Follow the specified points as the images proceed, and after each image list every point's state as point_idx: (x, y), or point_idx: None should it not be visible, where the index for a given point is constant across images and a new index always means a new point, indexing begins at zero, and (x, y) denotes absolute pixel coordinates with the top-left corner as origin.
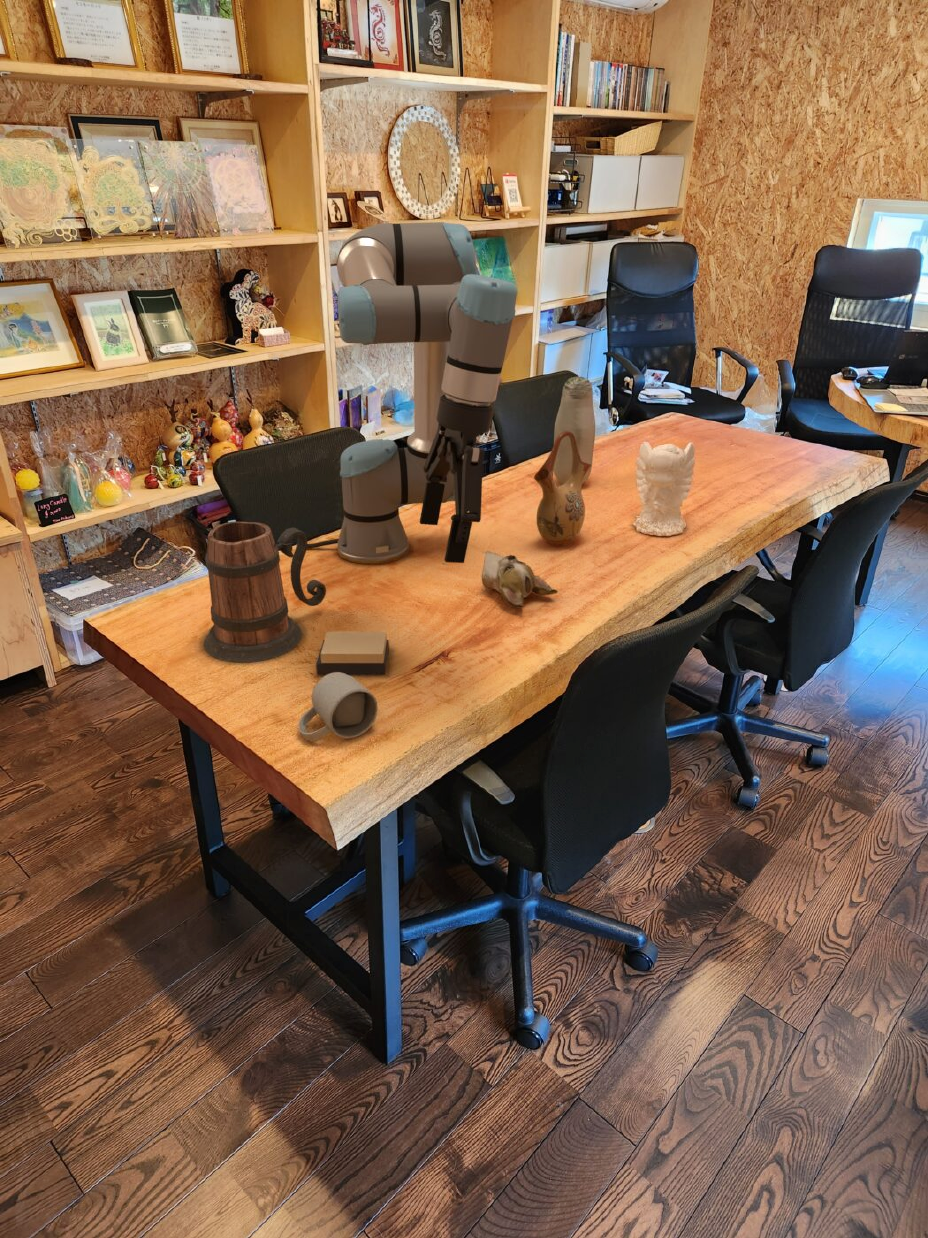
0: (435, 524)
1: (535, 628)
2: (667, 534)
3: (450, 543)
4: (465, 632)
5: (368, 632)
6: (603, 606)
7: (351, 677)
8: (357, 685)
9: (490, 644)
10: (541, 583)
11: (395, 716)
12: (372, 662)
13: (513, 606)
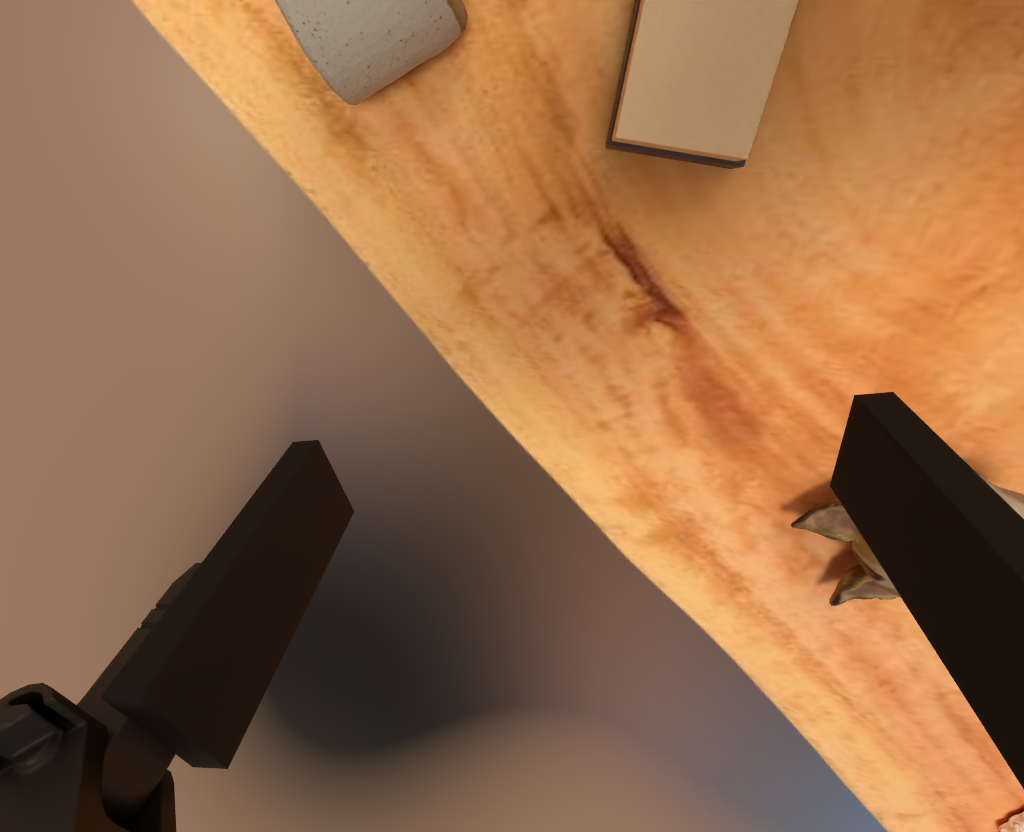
0: (834, 478)
1: (720, 520)
2: (1003, 829)
3: (234, 527)
4: (757, 380)
5: (762, 94)
6: (763, 648)
7: (403, 6)
8: (323, 23)
9: (682, 422)
10: (882, 589)
11: (419, 161)
12: (619, 105)
13: (815, 507)
